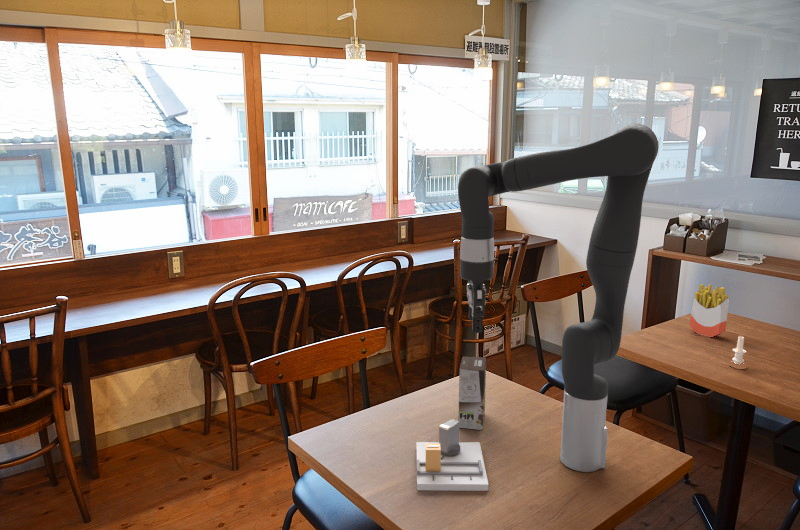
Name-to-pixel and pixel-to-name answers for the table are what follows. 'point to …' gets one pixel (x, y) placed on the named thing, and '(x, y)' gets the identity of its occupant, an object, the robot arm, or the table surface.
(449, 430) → the selector knob
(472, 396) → the coffee box
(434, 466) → the fader
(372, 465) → the table surface
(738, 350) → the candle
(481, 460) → the board
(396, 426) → the table surface
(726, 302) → the french fries container
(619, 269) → the robot arm
